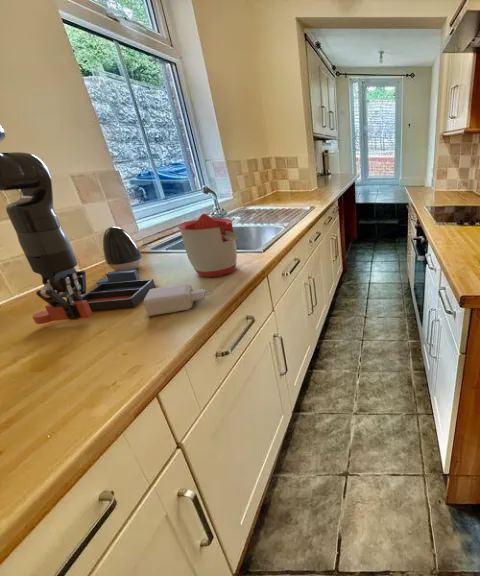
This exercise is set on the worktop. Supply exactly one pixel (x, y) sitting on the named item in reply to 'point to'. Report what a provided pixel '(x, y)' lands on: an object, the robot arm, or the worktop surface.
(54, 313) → the terracotta spoon
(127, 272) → the slate-blue spoon
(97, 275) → the worktop surface
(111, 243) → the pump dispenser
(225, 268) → the citrus juicer
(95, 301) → the cutlery tray
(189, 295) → the charger
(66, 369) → the worktop surface
